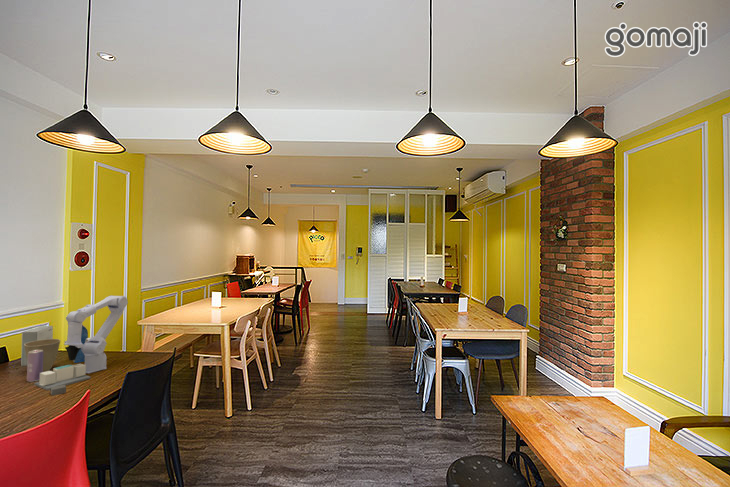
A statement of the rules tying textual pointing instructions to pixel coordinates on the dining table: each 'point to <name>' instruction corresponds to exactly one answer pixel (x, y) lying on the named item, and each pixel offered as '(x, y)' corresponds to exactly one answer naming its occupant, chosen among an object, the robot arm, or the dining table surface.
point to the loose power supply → (58, 390)
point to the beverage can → (34, 365)
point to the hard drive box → (35, 338)
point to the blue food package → (84, 335)
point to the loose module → (63, 372)
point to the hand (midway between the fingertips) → (72, 360)
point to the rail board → (49, 380)
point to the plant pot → (44, 351)
